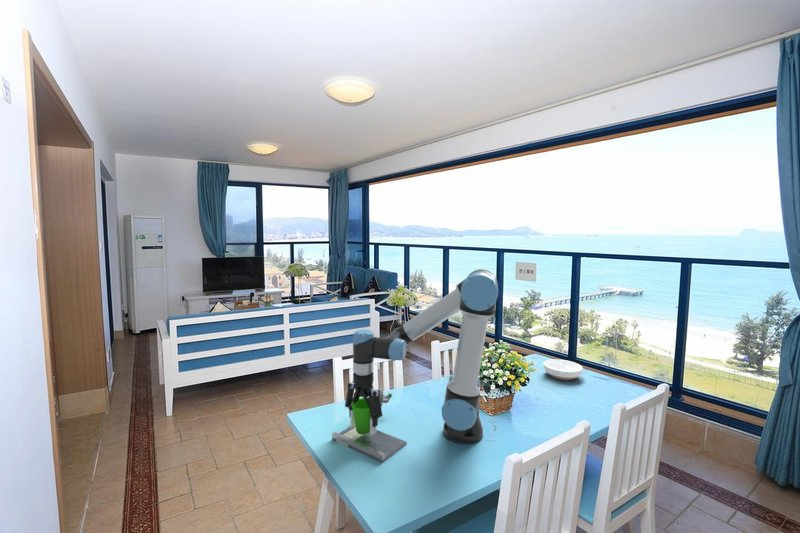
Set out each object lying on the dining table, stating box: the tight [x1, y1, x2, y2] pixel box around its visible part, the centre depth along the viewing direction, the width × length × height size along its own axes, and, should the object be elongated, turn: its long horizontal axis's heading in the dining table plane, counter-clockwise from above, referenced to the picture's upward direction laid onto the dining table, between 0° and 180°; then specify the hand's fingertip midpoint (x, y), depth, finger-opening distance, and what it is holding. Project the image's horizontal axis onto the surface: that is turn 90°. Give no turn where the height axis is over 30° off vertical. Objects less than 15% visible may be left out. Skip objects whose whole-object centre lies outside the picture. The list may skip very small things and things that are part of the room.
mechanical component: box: [379, 390, 393, 407], centre depth 164 cm, size 3×10×10 cm, turn 78°
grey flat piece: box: [331, 426, 407, 464], centre depth 144 cm, size 24×14×2 cm, turn 54°
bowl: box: [543, 358, 584, 381], centre depth 209 cm, size 20×20×6 cm
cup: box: [351, 397, 372, 435], centre depth 146 cm, size 9×9×11 cm
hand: (363, 429), depth 146 cm, fingers closed on cup, 9 cm apart
